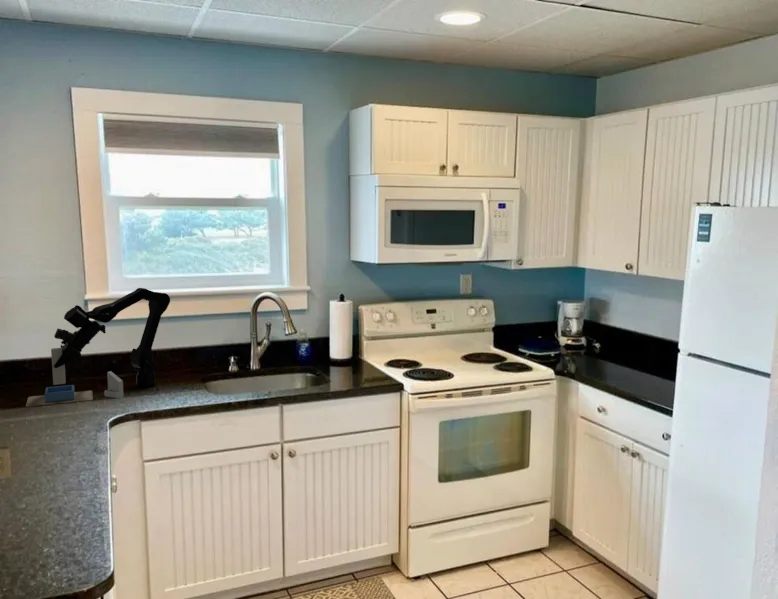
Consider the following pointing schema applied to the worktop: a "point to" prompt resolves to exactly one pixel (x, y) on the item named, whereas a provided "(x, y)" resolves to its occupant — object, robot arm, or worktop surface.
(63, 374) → the connector column
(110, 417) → the worktop surface
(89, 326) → the robot arm
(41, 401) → the board
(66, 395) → the box
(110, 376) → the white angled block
